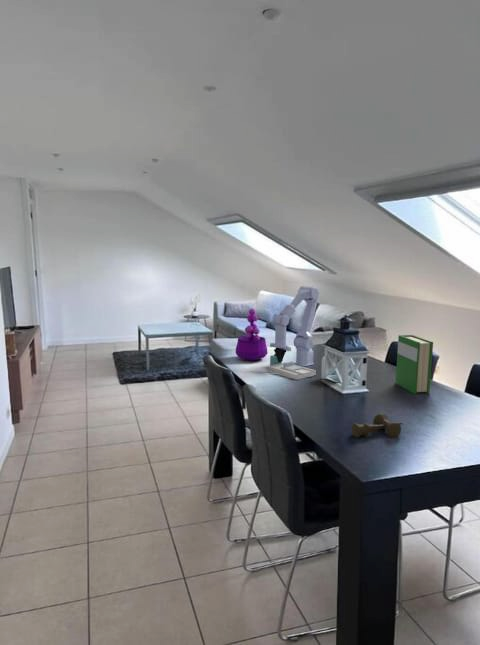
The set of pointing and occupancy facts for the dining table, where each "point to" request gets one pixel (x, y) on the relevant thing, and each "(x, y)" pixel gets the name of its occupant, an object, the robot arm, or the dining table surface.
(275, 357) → the plug
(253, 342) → the decorative plant
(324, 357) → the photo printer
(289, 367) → the shutter
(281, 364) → the socket plate
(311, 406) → the dining table surface
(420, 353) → the hardback book
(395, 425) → the kendama
